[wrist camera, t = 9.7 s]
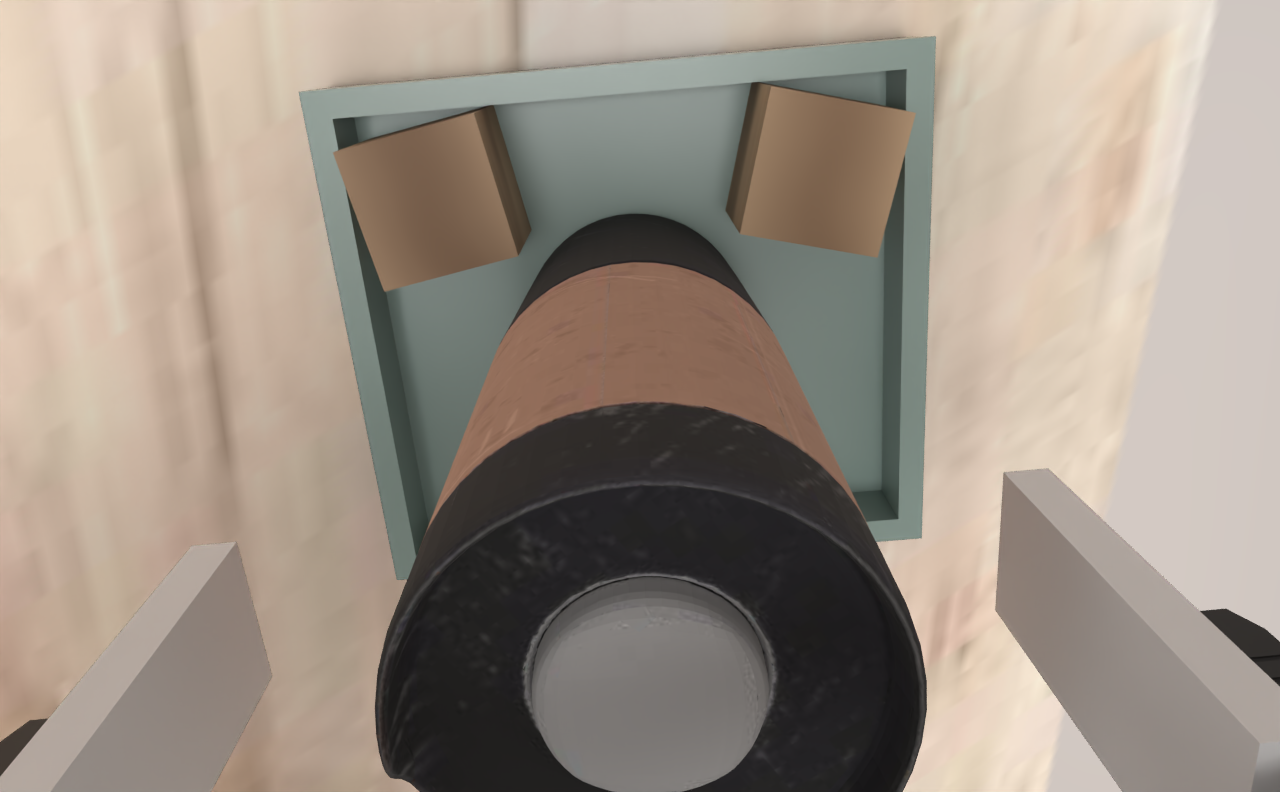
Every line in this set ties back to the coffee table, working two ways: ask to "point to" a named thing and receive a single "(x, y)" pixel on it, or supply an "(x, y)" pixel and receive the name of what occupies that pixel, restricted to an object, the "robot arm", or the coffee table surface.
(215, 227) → the coffee table surface
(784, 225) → the walnut block
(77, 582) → the coffee table surface
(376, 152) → the walnut block
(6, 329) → the coffee table surface
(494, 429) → the travel mug
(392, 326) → the tray
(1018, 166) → the coffee table surface
